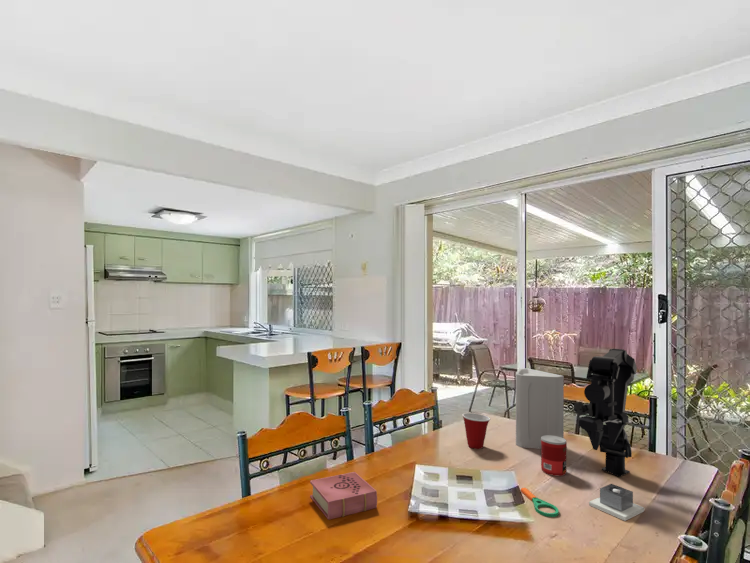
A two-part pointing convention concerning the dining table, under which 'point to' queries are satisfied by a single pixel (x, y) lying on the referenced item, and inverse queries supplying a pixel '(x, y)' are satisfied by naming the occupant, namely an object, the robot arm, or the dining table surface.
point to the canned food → (553, 455)
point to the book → (343, 495)
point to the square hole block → (616, 497)
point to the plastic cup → (475, 429)
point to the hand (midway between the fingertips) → (603, 447)
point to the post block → (621, 515)
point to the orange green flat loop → (540, 504)
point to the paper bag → (538, 406)
